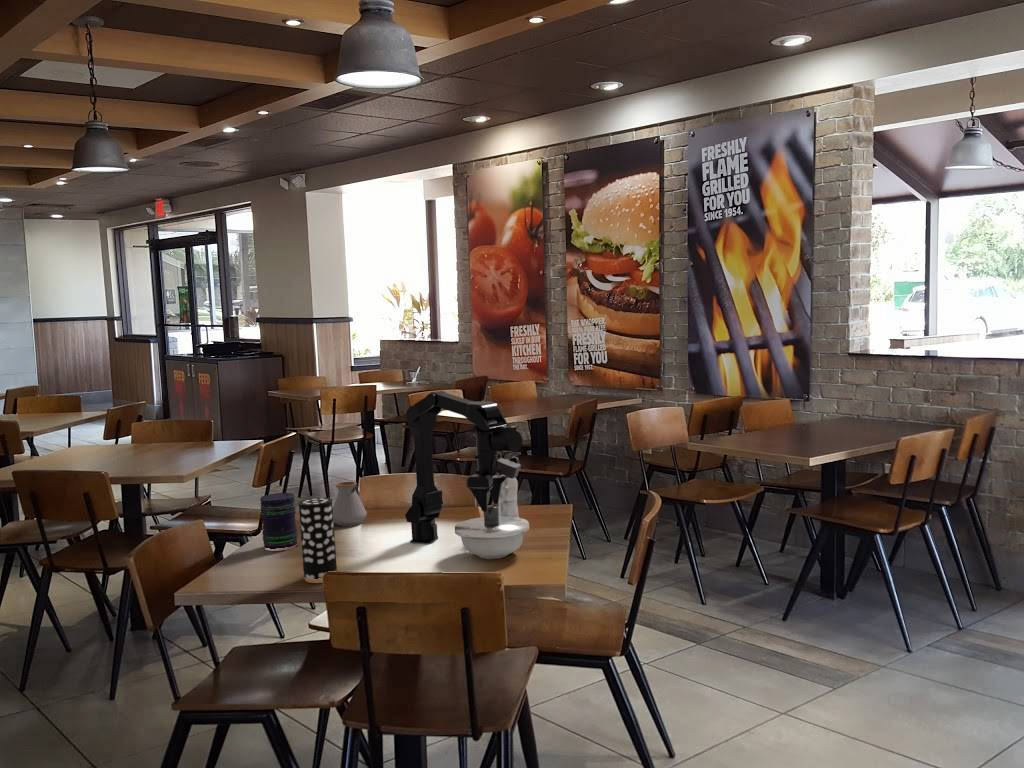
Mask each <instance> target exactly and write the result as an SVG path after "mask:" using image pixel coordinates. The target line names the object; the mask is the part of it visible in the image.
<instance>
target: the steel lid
mask: <svg viewBox="0 0 1024 768" xmlns="http://www.w3.org/2000/svg"><path fill="white" fill-rule="evenodd" d="M529 530H530V523H529V521H528V520H527V519H525V518H522V517H519V518H518V517H509V516H499V505H498V504H488V506H487V511H486V512H483V516H481V517H475V518H470V519H466V520H463V521H460V522H458V523H457V524H455V525H454V533H455V535H456V536H458V537H460V538H461V537H464V538H470V539H500V538H507V537H513V536H517V535H520V534H523V535H524V533H527V532H528V531H529Z"/></svg>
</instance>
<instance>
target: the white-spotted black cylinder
mask: <svg viewBox="0 0 1024 768" xmlns="http://www.w3.org/2000/svg"><path fill="white" fill-rule="evenodd" d="M297 504H298V514H299V515H298V517H299V528H300V529H299V530H300V541H301V542H300V543H301V555H302V556H301V558H302V569H303V570H302V571H303V578H304V577H305V578H310V579H318V578H322V575H323V574H324V573H325V572H328V571H337V572H338V566H337V565H338V564H337V552H336V551H337V549H336V540H335V538H336V536H335V535H336V534H335V523H334V521H333V506H334V505H333V499H332V498H330V497H329V498H328V497H314V498H307V499H306V498H305V499H303V500H300V501H298V503H297Z"/></svg>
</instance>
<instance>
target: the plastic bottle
mask: <svg viewBox="0 0 1024 768" xmlns="http://www.w3.org/2000/svg"><path fill="white" fill-rule="evenodd" d="M504 476H505V475H504ZM518 482H519V481H518V480H517V478H516V477H515V478H513V479H512V478H507V479H506V480H505V481H504V482H503V484H502V488H501V492H500V497H499V502H498V510H499V516H509V517H518V518H520V516H519V509H518V488H519V485H518V484H519V483H518Z"/></svg>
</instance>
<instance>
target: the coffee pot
mask: <svg viewBox="0 0 1024 768" xmlns="http://www.w3.org/2000/svg"><path fill="white" fill-rule="evenodd" d="M335 487H336V489H337V490H338V493H337V495H336V498H335V501H334V503H333V505H332V506H333V521H334V524H336V525H337V524H338V525H342V526H341V527H353V526H357V525H356V524H358V525H360V524H361V523H362V522H363V521H364V520H365V519H366V517H367V514H368V513H367V510H366V509H365V506H364V504H363V503H362V499H360V497H359V494H358V493H357V492H361V489H360V490H358V489H359V487H360V488H362V486H361V485H359V484H357V482H356V481H344V482H343V481H342V482H338V483H336V484H335ZM338 525H337V526H338ZM352 525H353V526H352Z"/></svg>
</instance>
